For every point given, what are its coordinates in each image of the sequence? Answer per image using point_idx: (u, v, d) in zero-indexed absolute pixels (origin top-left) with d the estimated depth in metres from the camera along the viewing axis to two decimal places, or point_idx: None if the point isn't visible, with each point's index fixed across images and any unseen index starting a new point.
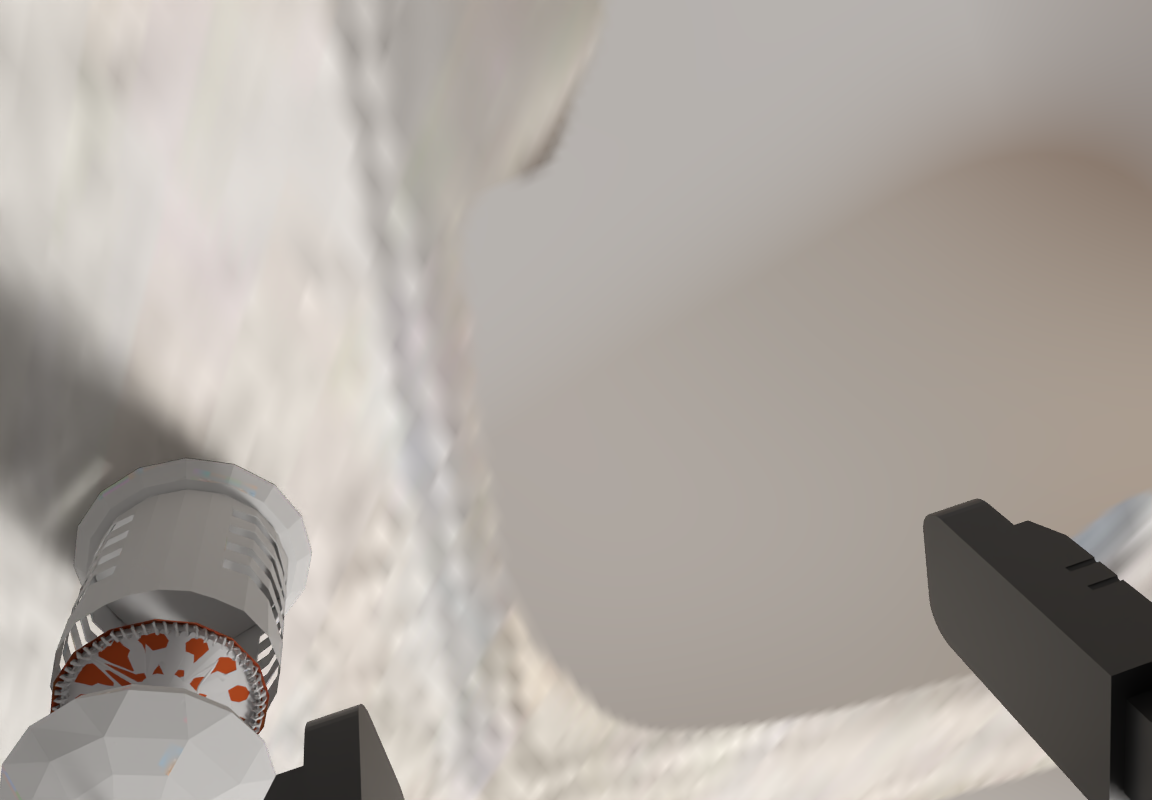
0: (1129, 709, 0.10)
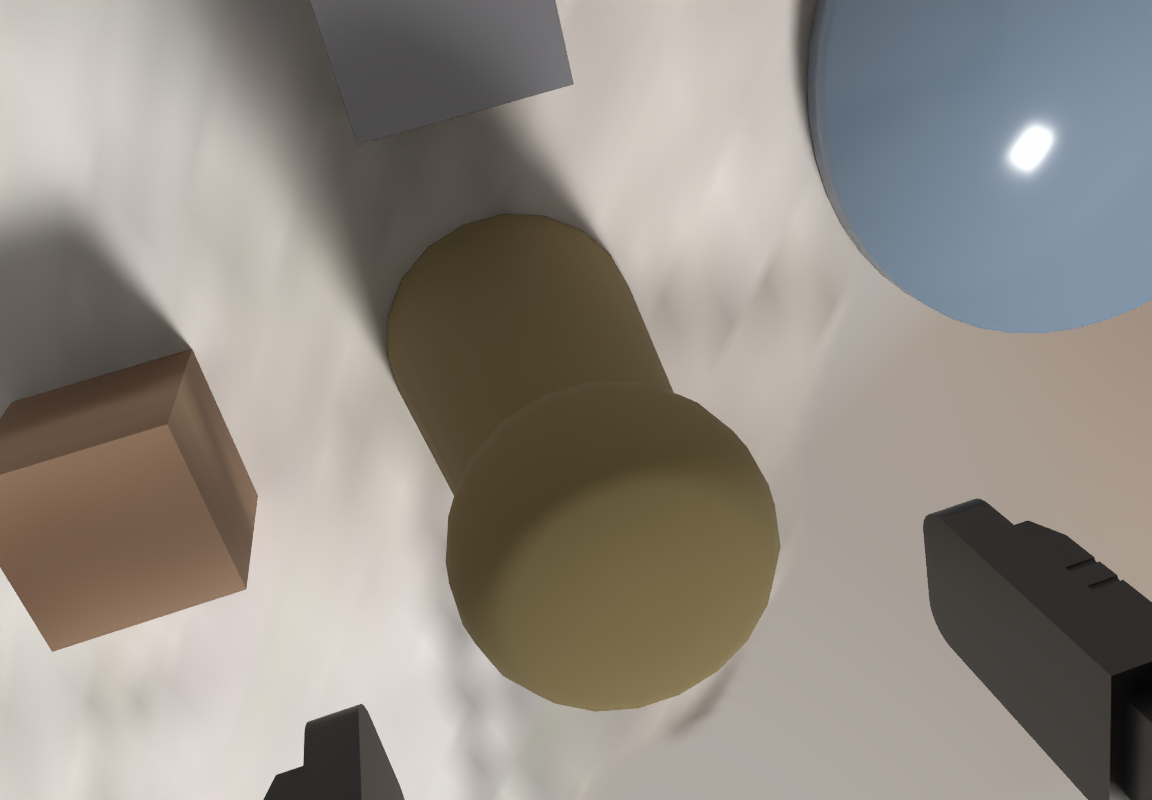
0: (1128, 709, 0.10)
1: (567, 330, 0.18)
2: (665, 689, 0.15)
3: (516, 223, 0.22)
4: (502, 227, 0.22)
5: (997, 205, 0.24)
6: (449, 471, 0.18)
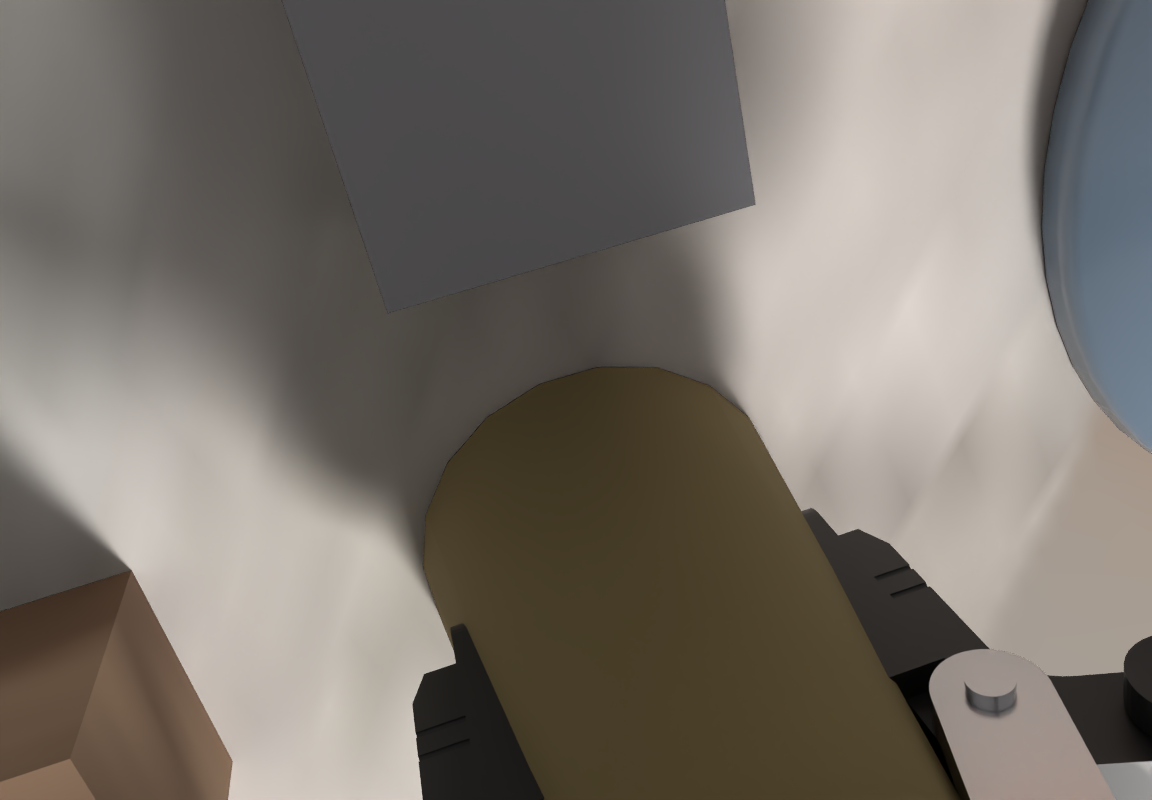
0: None
1: (748, 626, 0.10)
2: None
3: (620, 383, 0.15)
4: (600, 392, 0.15)
5: None
6: None
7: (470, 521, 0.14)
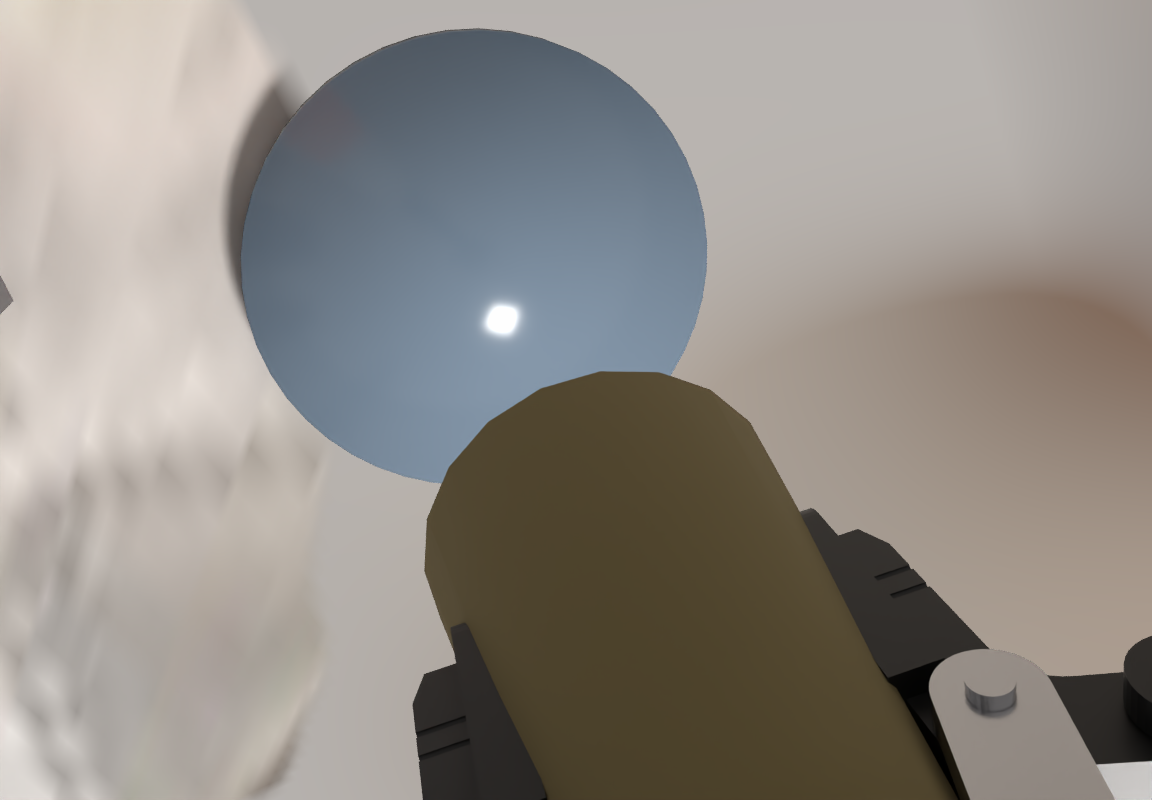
0: (911, 708, 0.11)
1: (749, 631, 0.11)
2: None
3: (621, 387, 0.15)
4: (601, 397, 0.15)
5: (421, 392, 0.31)
6: None
7: (471, 525, 0.14)
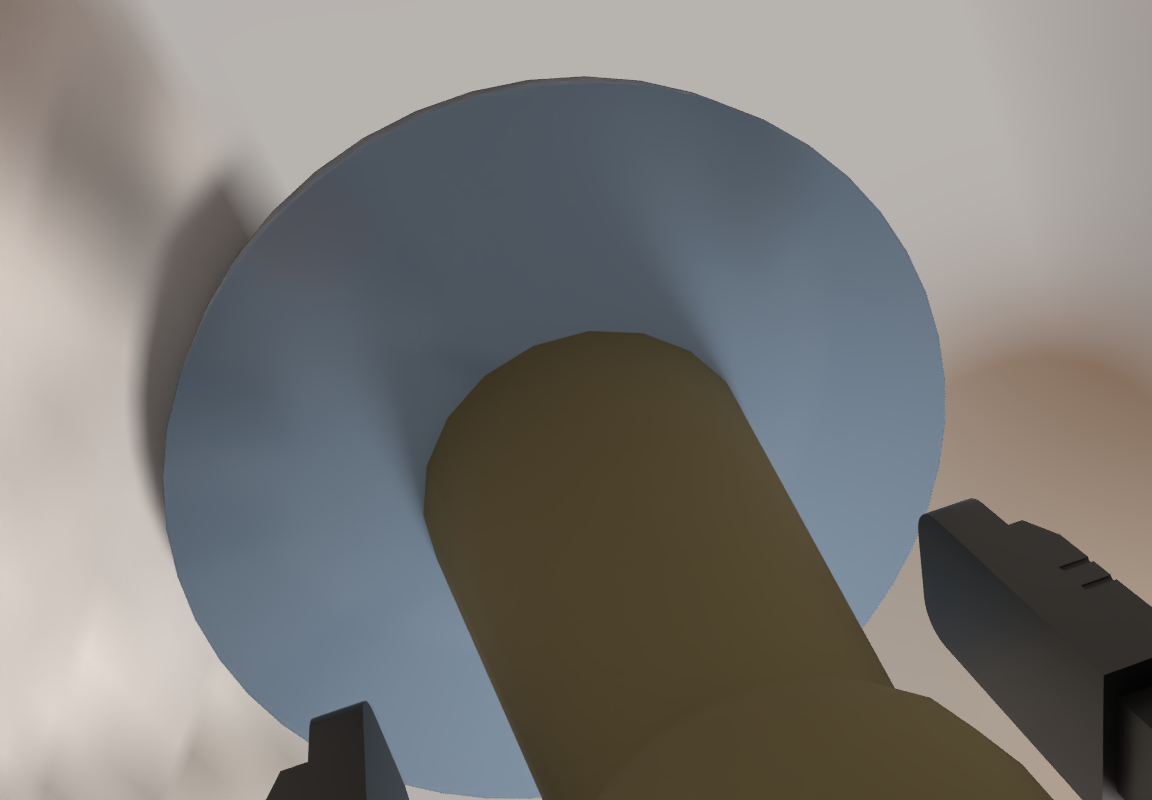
0: (1121, 709, 0.11)
1: (715, 547, 0.12)
2: None
3: (608, 346, 0.16)
4: (589, 353, 0.16)
5: (473, 671, 0.19)
6: (532, 759, 0.12)
7: (468, 467, 0.15)
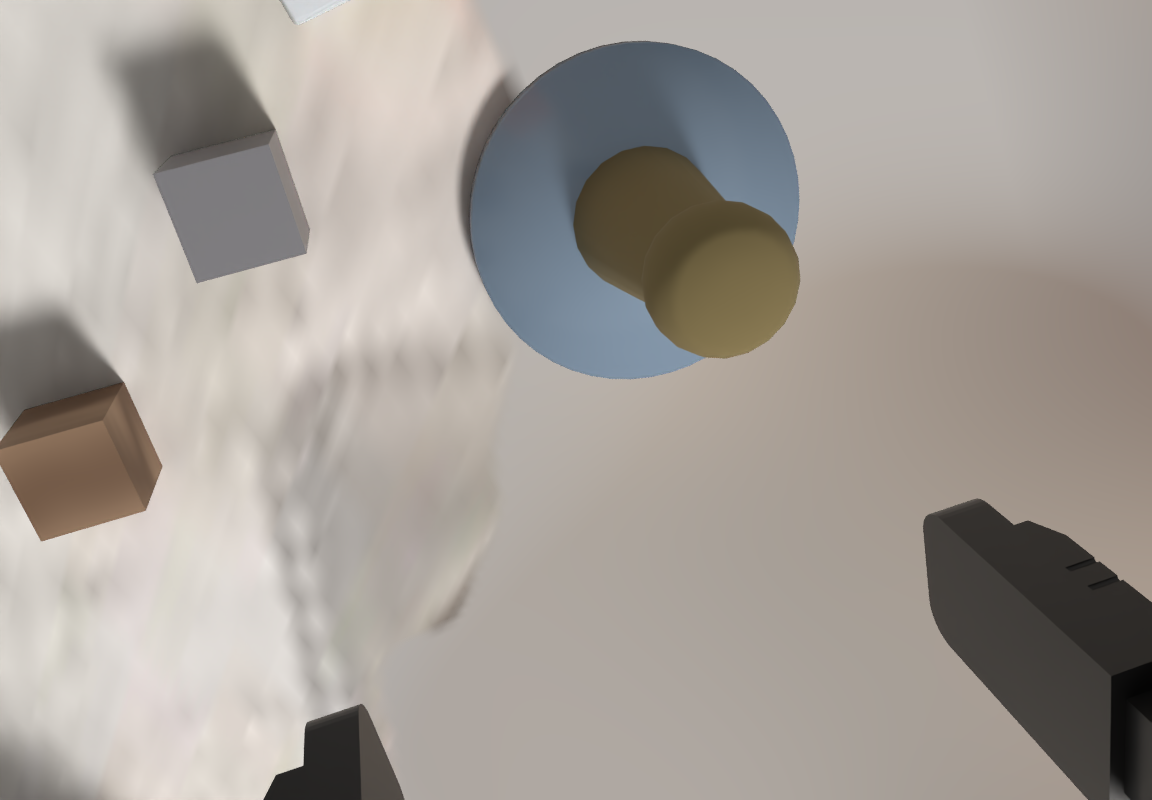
0: (1129, 710, 0.10)
1: (692, 190, 0.35)
2: (745, 342, 0.32)
3: (652, 149, 0.40)
4: (645, 151, 0.40)
5: (588, 305, 0.42)
6: (630, 260, 0.35)
7: (598, 191, 0.39)
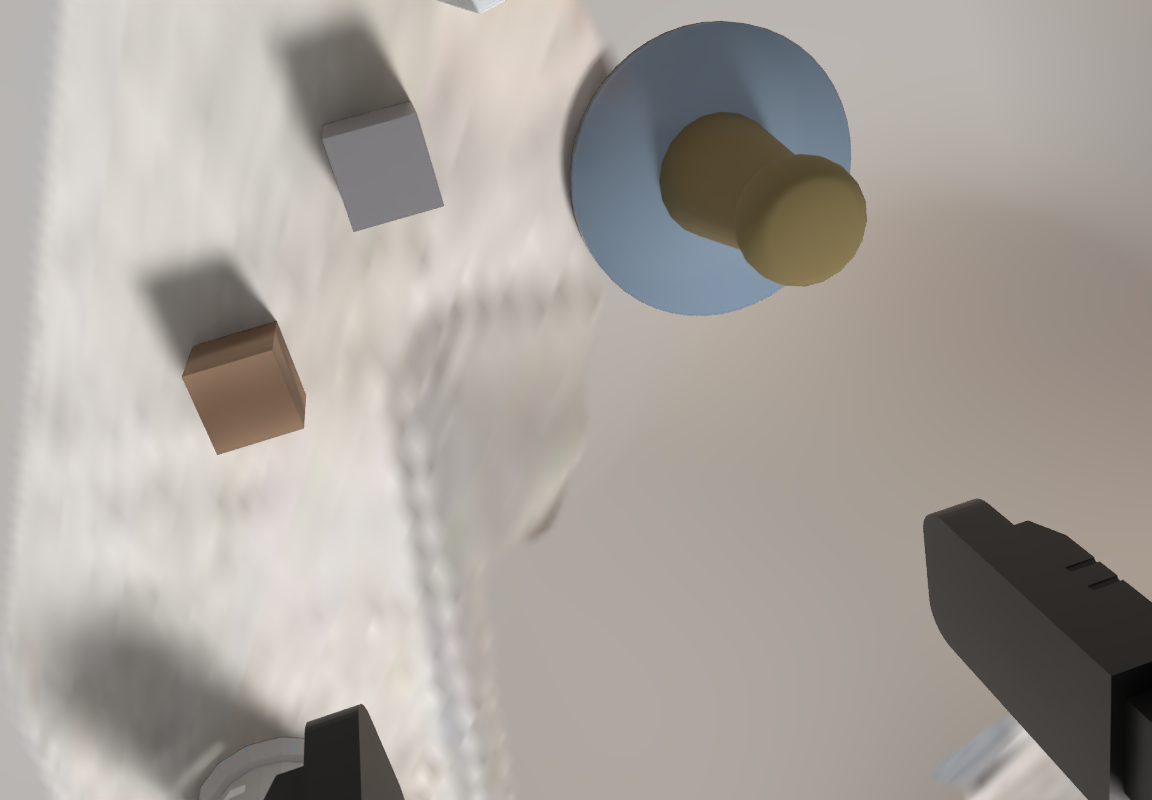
0: (1130, 709, 0.10)
1: (771, 148, 0.42)
2: (822, 271, 0.39)
3: (728, 115, 0.46)
4: (722, 116, 0.46)
5: (670, 251, 0.49)
6: (719, 207, 0.42)
7: (684, 151, 0.46)
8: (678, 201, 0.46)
